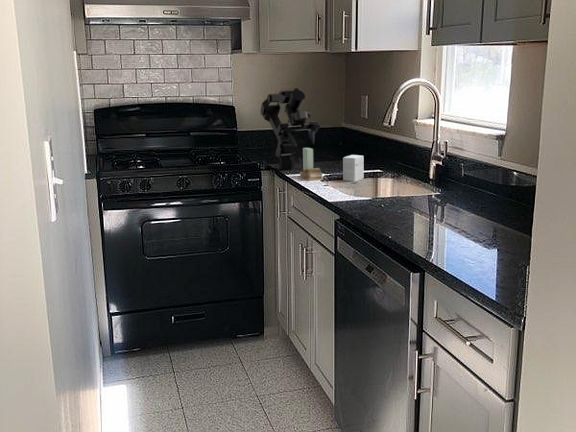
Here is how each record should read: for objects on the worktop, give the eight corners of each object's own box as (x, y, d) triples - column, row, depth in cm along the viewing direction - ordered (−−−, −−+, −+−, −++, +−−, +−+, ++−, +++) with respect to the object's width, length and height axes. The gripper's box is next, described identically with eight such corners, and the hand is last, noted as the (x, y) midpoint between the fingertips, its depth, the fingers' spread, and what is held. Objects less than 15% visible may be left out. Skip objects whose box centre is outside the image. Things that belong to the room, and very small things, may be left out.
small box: (352, 179, 272) (352, 154, 269) (363, 180, 269) (364, 155, 266) (342, 182, 265) (342, 157, 263) (354, 183, 262) (354, 158, 260)
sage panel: (303, 176, 276) (302, 148, 273) (308, 175, 277) (308, 147, 274) (307, 178, 271) (307, 149, 268) (313, 177, 272) (313, 149, 269)
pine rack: (297, 178, 277) (297, 166, 275) (312, 176, 279) (312, 165, 278) (308, 183, 266) (308, 170, 264) (323, 181, 268) (323, 169, 267)
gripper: (278, 104, 272) (288, 135, 266) (319, 102, 279) (329, 132, 273) (272, 120, 282) (281, 150, 276) (311, 117, 289) (321, 146, 282)
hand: (303, 144), depth 276 cm, fingers open, 9 cm apart
